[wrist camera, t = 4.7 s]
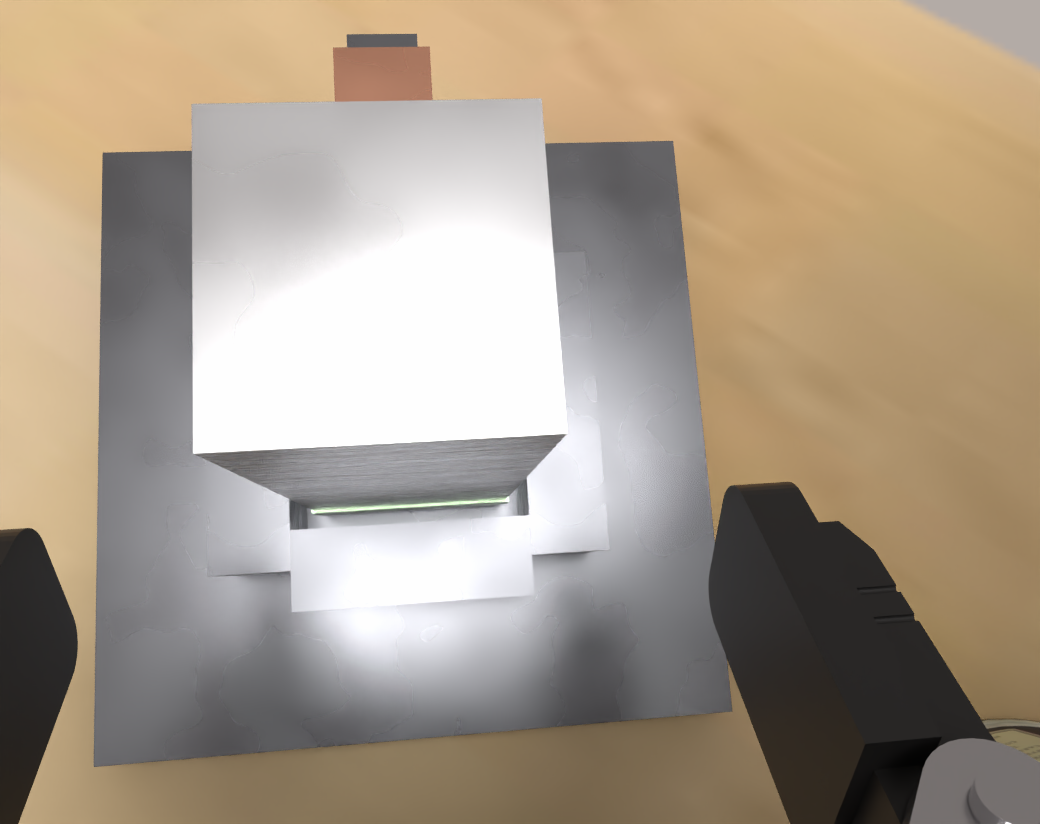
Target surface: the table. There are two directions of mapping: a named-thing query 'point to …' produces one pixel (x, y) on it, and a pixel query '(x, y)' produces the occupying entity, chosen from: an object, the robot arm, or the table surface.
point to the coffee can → (1016, 734)
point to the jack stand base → (407, 534)
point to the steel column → (375, 300)
